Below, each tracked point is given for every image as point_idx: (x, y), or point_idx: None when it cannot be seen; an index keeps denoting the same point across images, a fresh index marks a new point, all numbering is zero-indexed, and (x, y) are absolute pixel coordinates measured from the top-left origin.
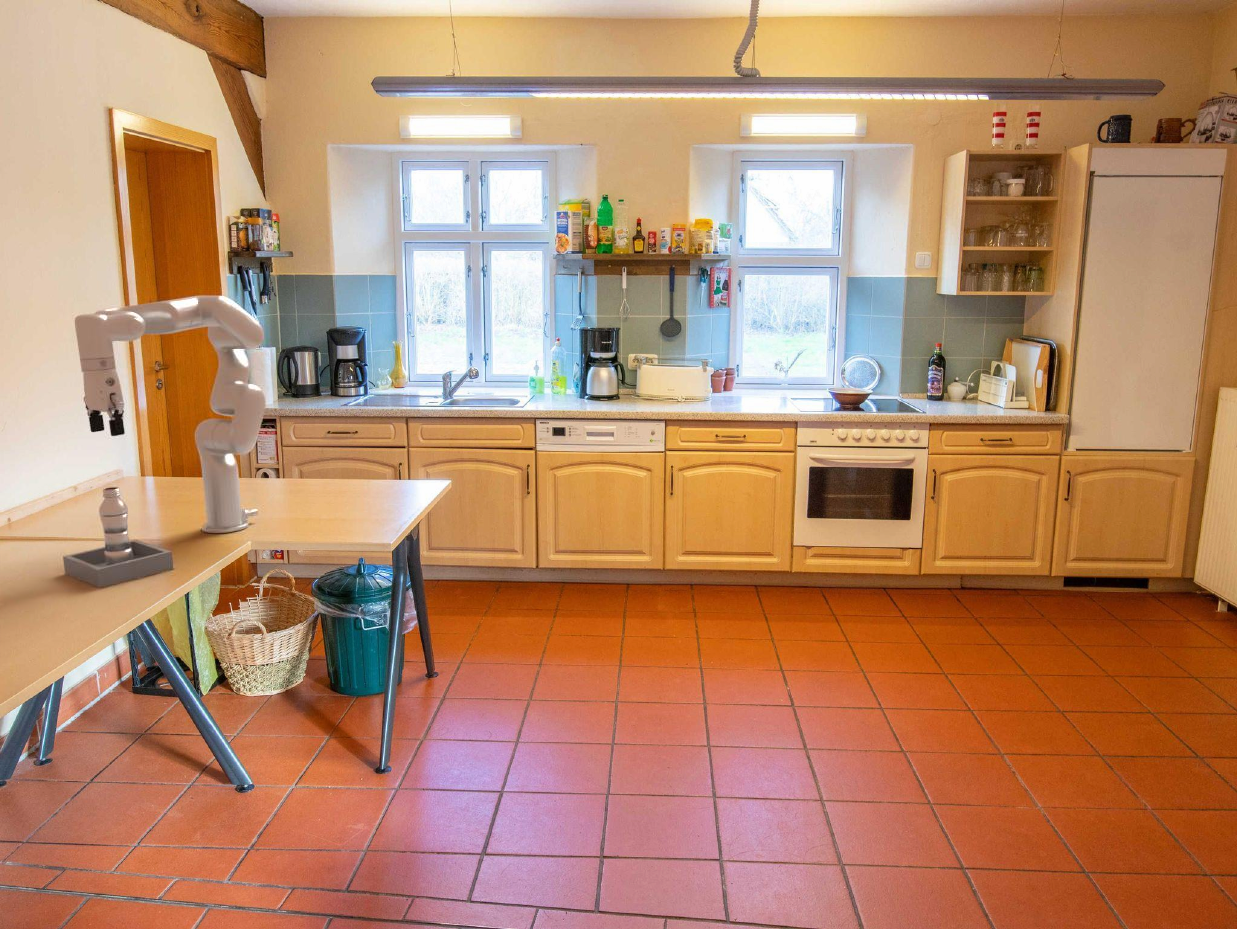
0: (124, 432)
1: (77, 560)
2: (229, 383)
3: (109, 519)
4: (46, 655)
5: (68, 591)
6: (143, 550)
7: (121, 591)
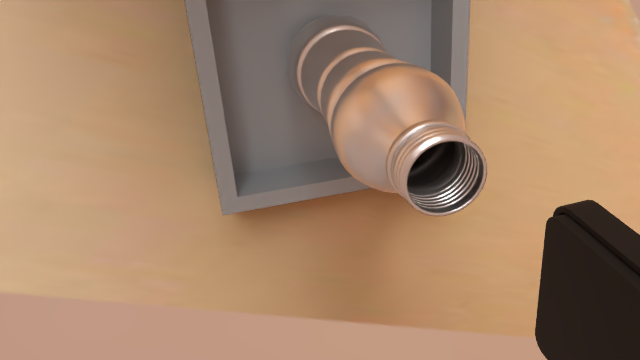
0: (601, 207)
1: (312, 191)
2: None
3: (429, 151)
4: None
5: (397, 213)
6: None
7: (512, 113)
